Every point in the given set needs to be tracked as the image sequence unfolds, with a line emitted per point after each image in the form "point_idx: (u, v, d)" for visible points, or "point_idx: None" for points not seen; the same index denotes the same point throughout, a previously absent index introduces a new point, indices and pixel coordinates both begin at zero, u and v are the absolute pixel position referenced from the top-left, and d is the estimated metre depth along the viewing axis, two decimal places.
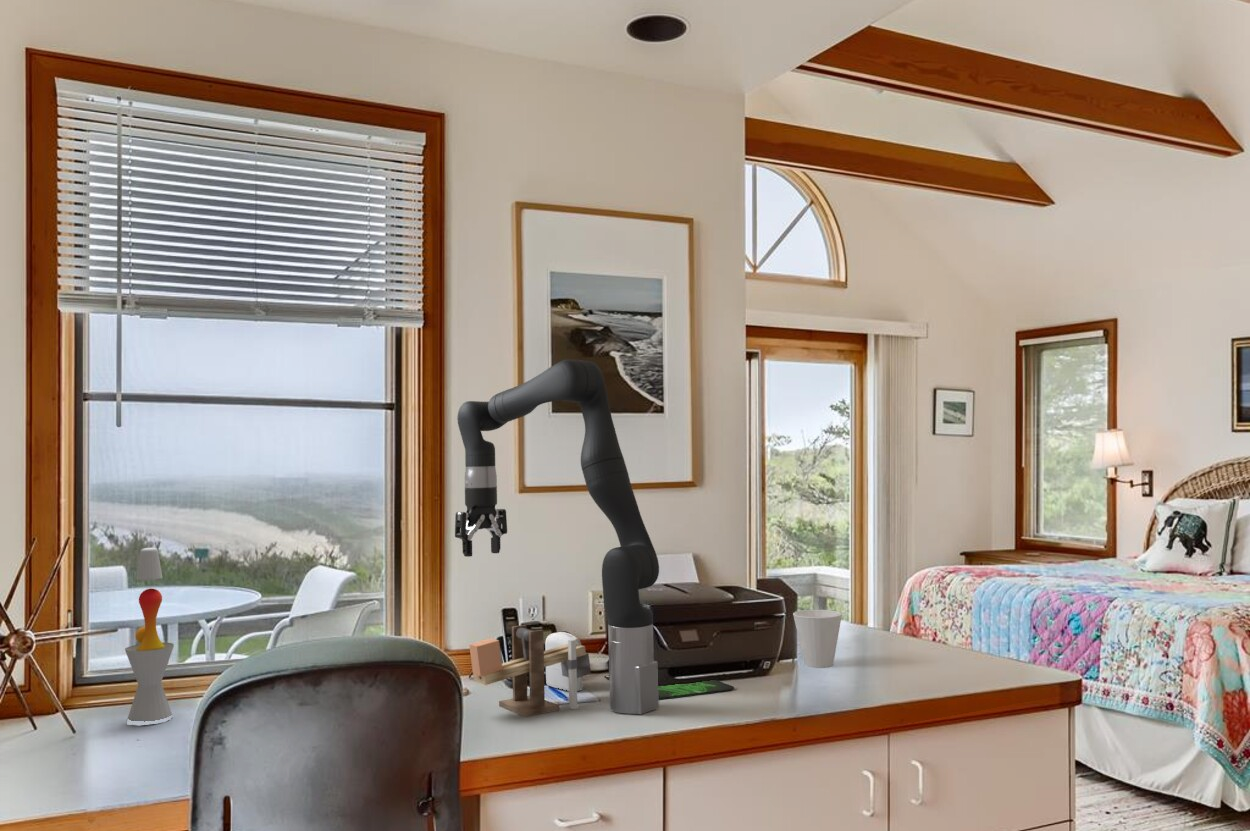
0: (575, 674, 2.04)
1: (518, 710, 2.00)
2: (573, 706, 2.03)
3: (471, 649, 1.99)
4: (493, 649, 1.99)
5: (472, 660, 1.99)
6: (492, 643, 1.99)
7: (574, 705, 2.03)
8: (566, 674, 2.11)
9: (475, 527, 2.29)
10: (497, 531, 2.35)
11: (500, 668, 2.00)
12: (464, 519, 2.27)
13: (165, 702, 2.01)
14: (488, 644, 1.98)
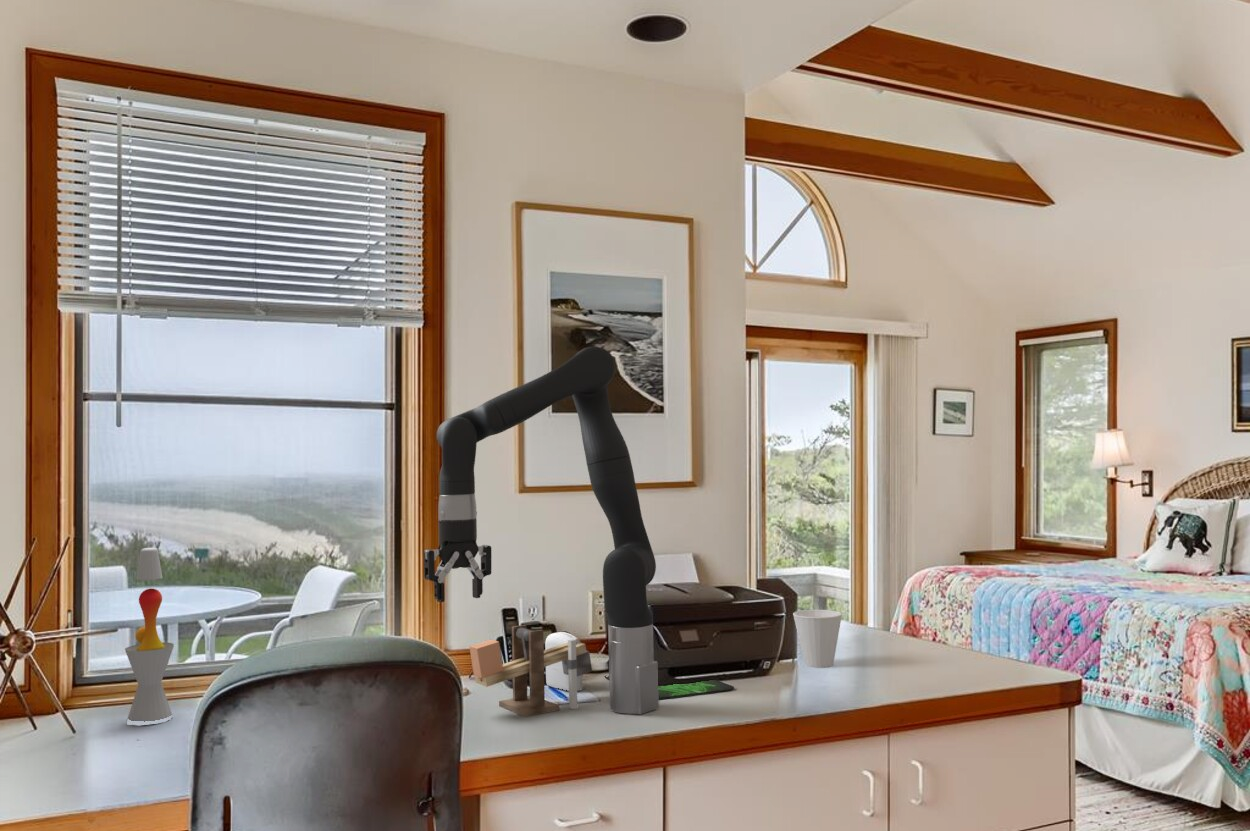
0: (575, 674, 2.04)
1: (518, 710, 2.00)
2: (573, 706, 2.03)
3: (471, 651, 1.99)
4: (493, 651, 1.99)
5: (473, 662, 1.99)
6: (492, 645, 1.99)
7: (574, 705, 2.03)
8: (567, 672, 2.11)
9: None
10: None
11: (501, 669, 2.00)
12: None
13: (165, 702, 2.01)
14: (488, 646, 1.98)
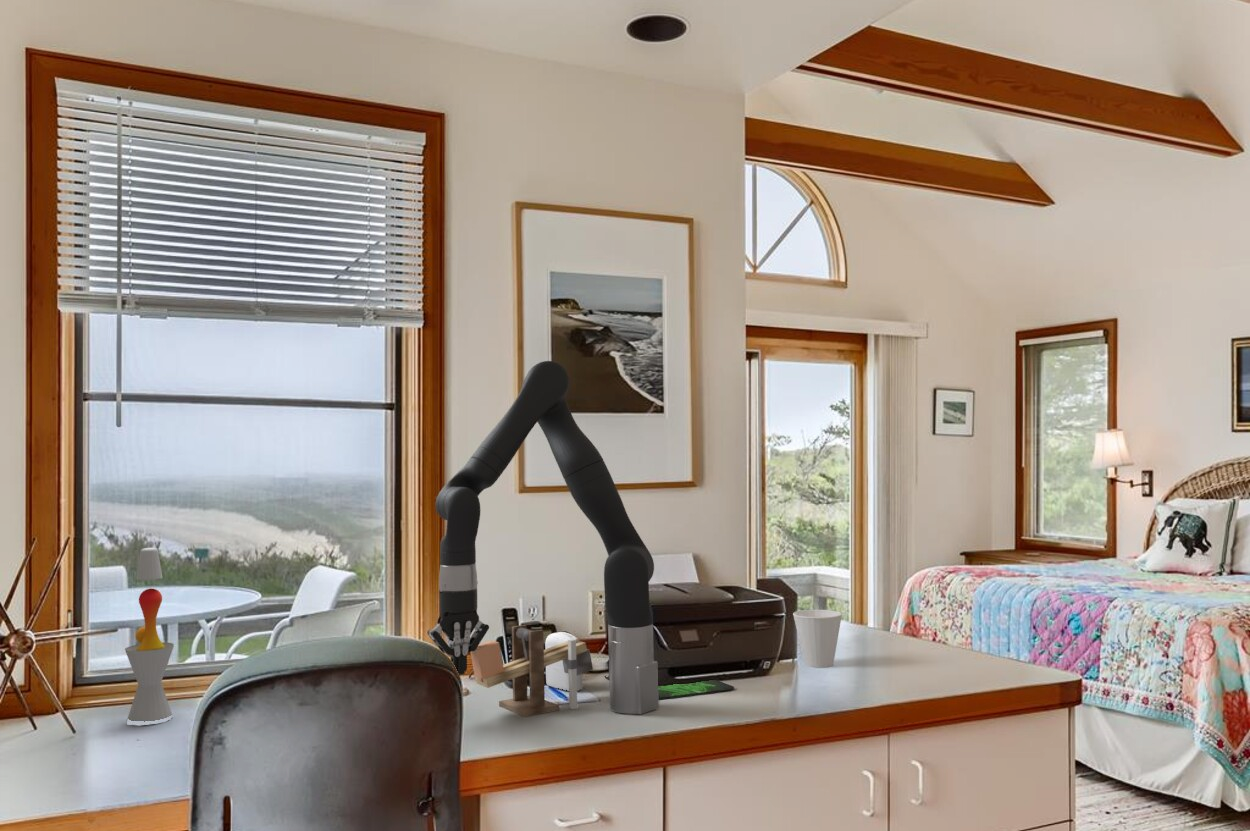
0: (575, 674, 2.04)
1: (518, 710, 2.00)
2: (573, 706, 2.03)
3: (472, 652, 1.99)
4: (493, 652, 1.99)
5: (473, 663, 1.99)
6: (492, 646, 1.99)
7: (574, 705, 2.03)
8: (568, 671, 2.11)
9: None
10: None
11: (501, 670, 2.00)
12: None
13: (165, 702, 2.01)
14: (488, 647, 1.98)
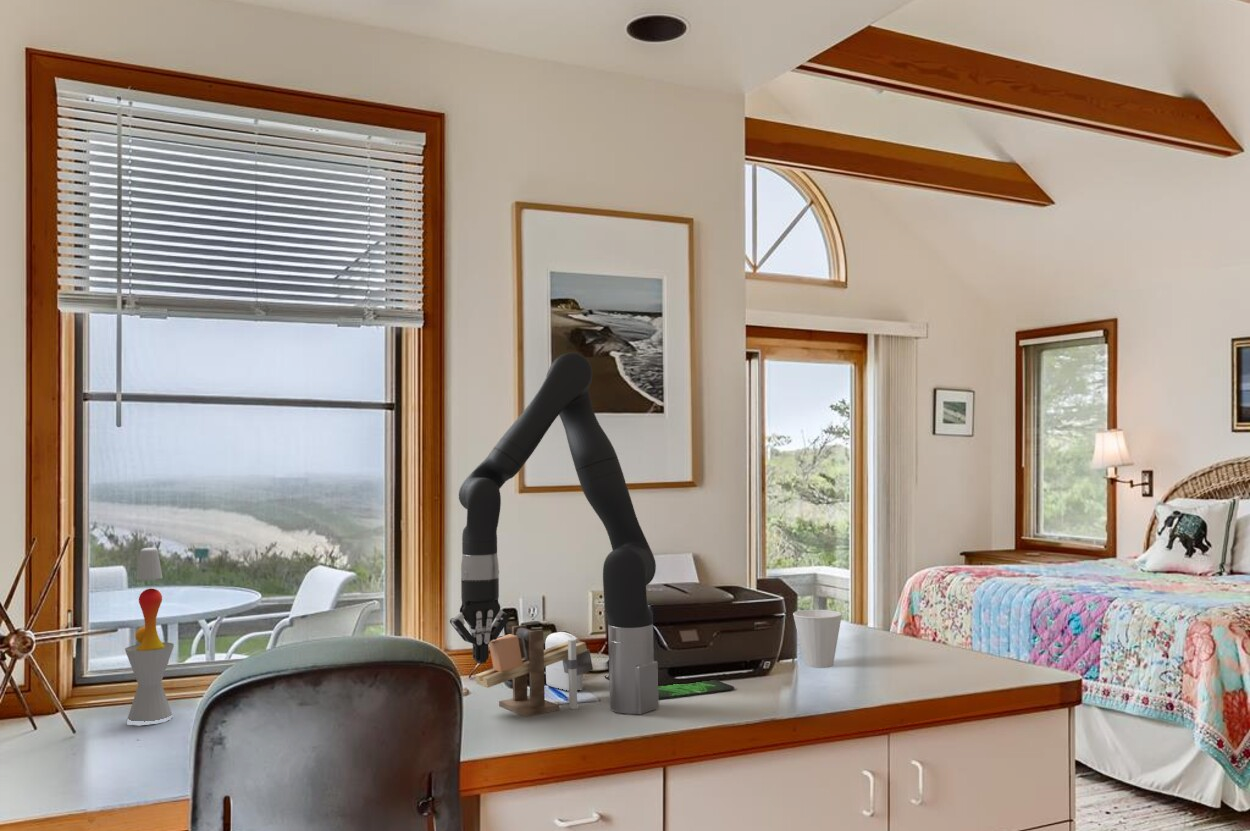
0: (575, 674, 2.04)
1: (518, 710, 2.00)
2: (573, 706, 2.03)
3: (491, 646, 2.01)
4: (512, 645, 2.01)
5: (492, 657, 2.02)
6: (511, 639, 2.01)
7: (574, 705, 2.03)
8: (568, 671, 2.11)
9: None
10: None
11: (520, 663, 2.02)
12: None
13: (165, 702, 2.01)
14: (507, 640, 2.01)
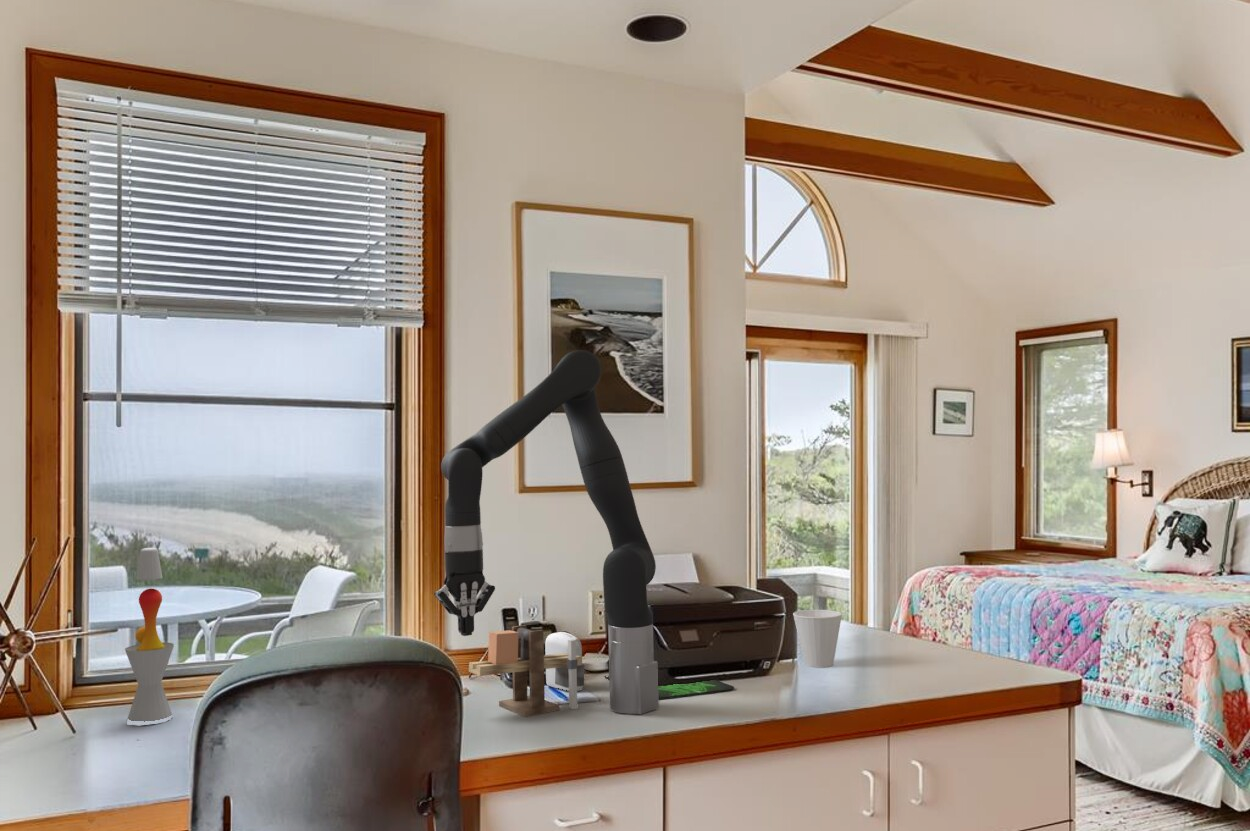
0: (575, 674, 2.04)
1: (518, 710, 2.00)
2: (573, 706, 2.03)
3: (490, 637, 2.01)
4: (511, 640, 2.01)
5: (489, 648, 2.01)
6: (512, 634, 2.01)
7: (574, 705, 2.03)
8: (559, 682, 2.10)
9: None
10: None
11: (515, 660, 2.02)
12: None
13: (165, 702, 2.01)
14: (508, 634, 2.01)
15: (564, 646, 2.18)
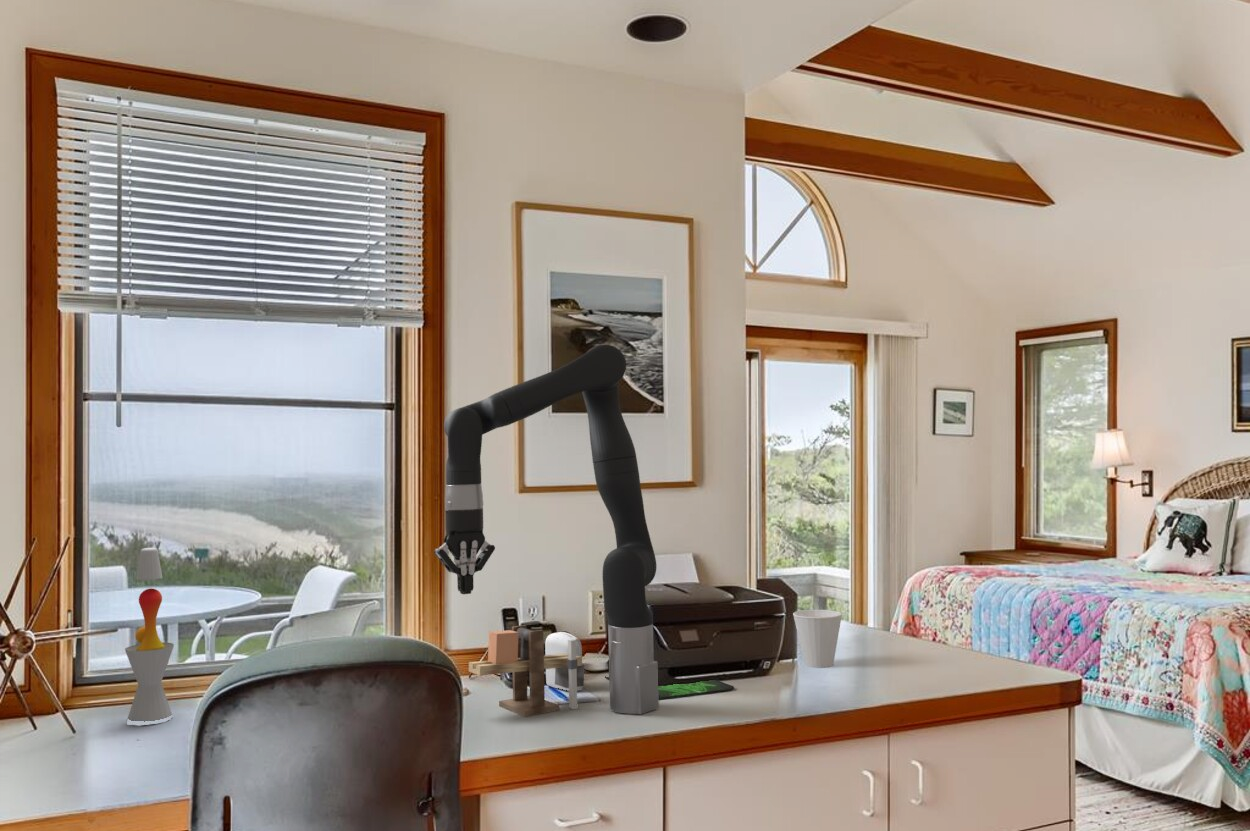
0: (575, 674, 2.04)
1: (518, 710, 2.00)
2: (573, 706, 2.03)
3: (490, 637, 2.01)
4: (511, 640, 2.01)
5: (489, 648, 2.01)
6: (512, 634, 2.01)
7: (574, 705, 2.03)
8: (559, 683, 2.10)
9: None
10: None
11: (515, 660, 2.02)
12: None
13: (165, 702, 2.01)
14: (508, 634, 2.01)
15: (564, 646, 2.18)
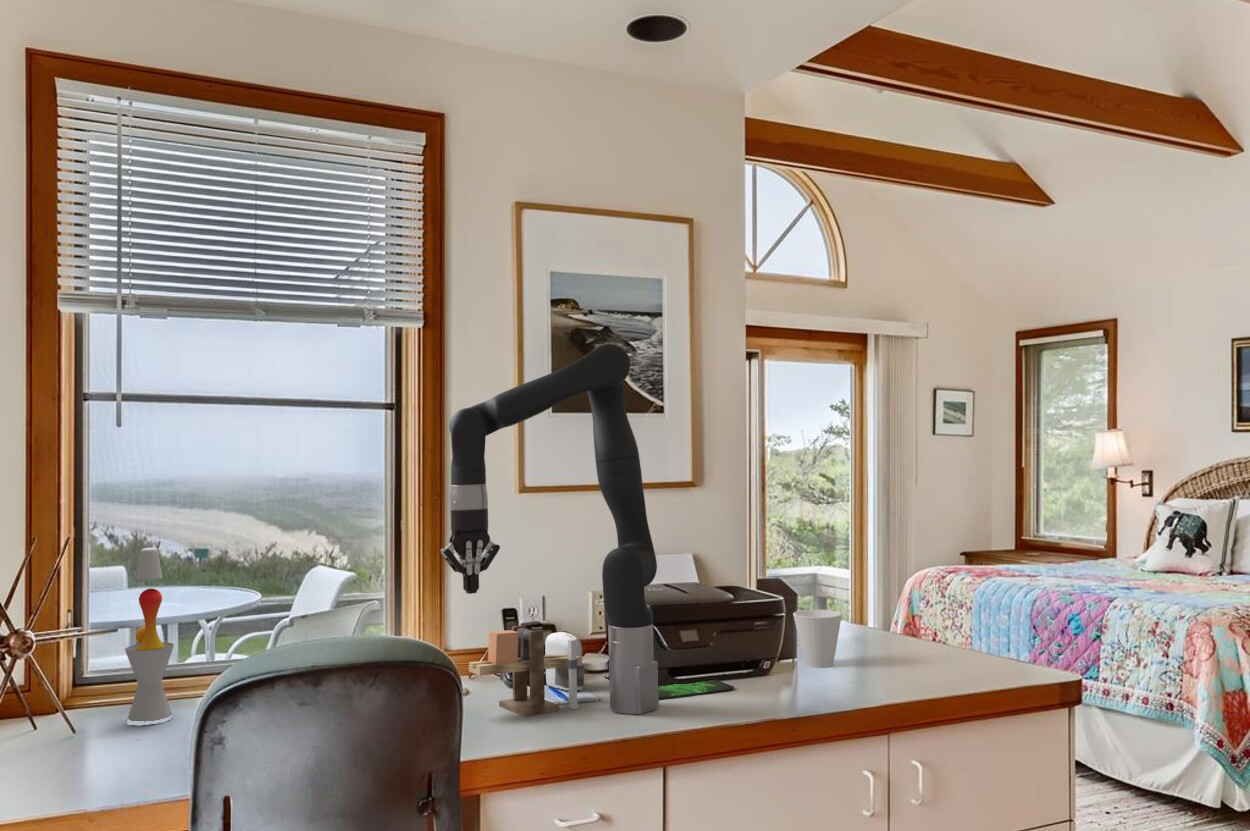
0: (575, 674, 2.04)
1: (518, 710, 2.00)
2: (573, 706, 2.03)
3: (490, 637, 2.01)
4: (511, 640, 2.01)
5: (489, 648, 2.01)
6: (512, 634, 2.01)
7: (574, 705, 2.03)
8: (559, 683, 2.10)
9: None
10: None
11: (515, 660, 2.02)
12: None
13: (165, 702, 2.01)
14: (508, 634, 2.01)
15: (564, 646, 2.18)
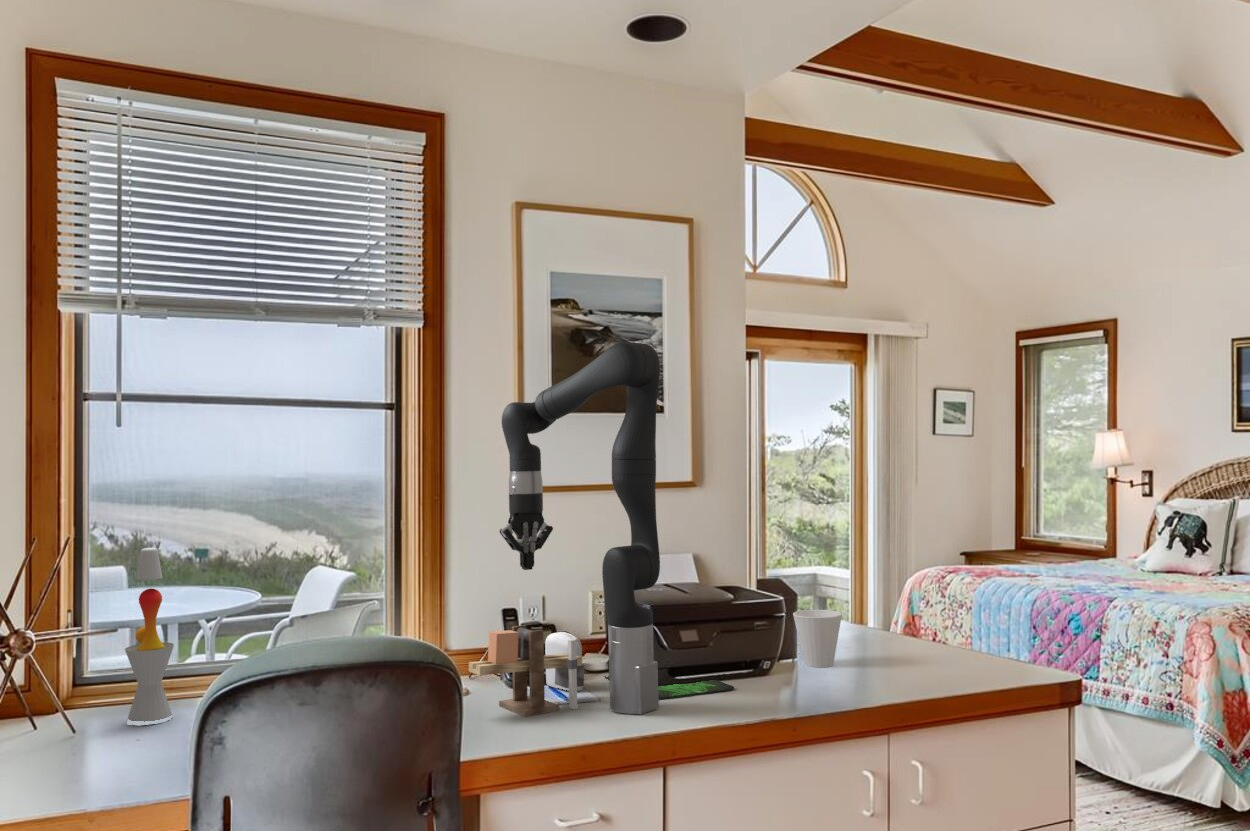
0: (575, 674, 2.04)
1: (518, 710, 2.00)
2: (573, 706, 2.03)
3: (490, 637, 2.01)
4: (511, 640, 2.01)
5: (489, 648, 2.01)
6: (512, 634, 2.01)
7: (574, 705, 2.03)
8: (559, 683, 2.10)
9: None
10: None
11: (515, 660, 2.02)
12: None
13: (165, 702, 2.01)
14: (508, 634, 2.01)
15: (564, 646, 2.18)
